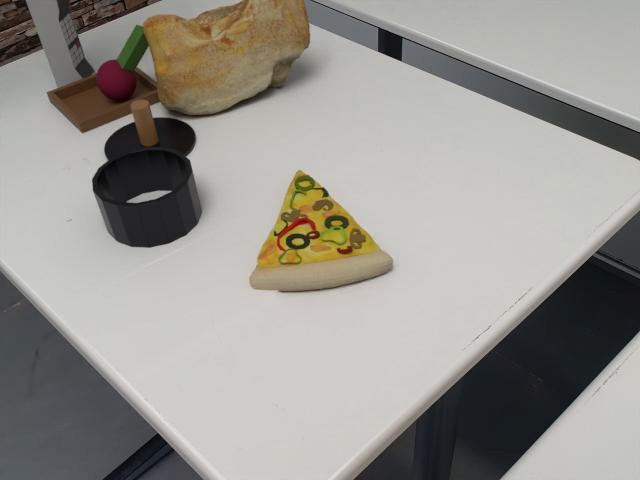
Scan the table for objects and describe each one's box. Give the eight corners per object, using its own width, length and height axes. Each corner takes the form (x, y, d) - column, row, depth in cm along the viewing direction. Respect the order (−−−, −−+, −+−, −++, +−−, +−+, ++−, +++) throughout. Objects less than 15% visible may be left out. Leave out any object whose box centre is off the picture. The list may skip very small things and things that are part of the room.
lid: (132, 187, 88) (117, 142, 83) (91, 147, 95) (75, 103, 90) (213, 150, 92) (204, 105, 88) (169, 114, 99) (158, 71, 94)
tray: (83, 137, 96) (79, 123, 95) (51, 105, 103) (46, 92, 101) (169, 102, 102) (165, 88, 100) (132, 73, 108) (129, 60, 106)
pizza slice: (252, 301, 73) (248, 281, 71) (239, 185, 87) (236, 165, 84) (396, 281, 74) (397, 260, 72) (361, 169, 88) (360, 149, 85)
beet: (99, 104, 98) (137, 38, 92) (83, 78, 100) (119, 11, 94) (131, 111, 103) (170, 49, 97) (116, 86, 104) (152, 23, 98)
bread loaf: (282, 50, 112) (267, -51, 102) (325, 86, 101) (312, -23, 91) (144, 90, 107) (114, -12, 97) (173, 133, 96) (141, 23, 85)
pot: (135, 264, 78) (119, 219, 73) (93, 217, 84) (75, 172, 79) (219, 222, 82) (210, 176, 77) (173, 180, 88) (161, 135, 83)
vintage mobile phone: (88, 90, 105) (27, -94, 87) (58, 89, 106) (-10, -94, 87) (97, 78, 108) (40, -104, 89) (68, 76, 108) (5, -103, 90)
